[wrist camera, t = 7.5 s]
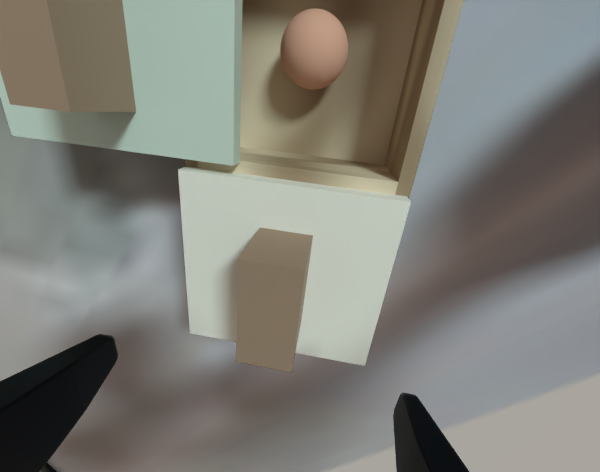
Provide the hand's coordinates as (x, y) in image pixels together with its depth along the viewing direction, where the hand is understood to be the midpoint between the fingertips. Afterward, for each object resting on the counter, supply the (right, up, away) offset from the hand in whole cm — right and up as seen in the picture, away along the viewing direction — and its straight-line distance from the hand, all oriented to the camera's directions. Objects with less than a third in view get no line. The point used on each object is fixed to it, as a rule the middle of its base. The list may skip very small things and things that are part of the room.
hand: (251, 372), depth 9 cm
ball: (+2, +12, +4) cm, 13 cm away
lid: (+1, +2, +6) cm, 6 cm away
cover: (-6, +12, +2) cm, 14 cm away
